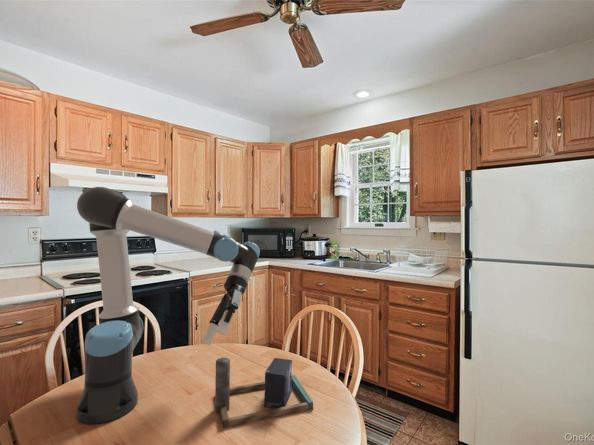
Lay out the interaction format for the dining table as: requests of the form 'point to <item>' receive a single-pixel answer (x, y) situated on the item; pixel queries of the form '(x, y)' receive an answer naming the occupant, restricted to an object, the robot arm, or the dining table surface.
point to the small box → (278, 383)
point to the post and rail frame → (224, 390)
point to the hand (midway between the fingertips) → (212, 338)
